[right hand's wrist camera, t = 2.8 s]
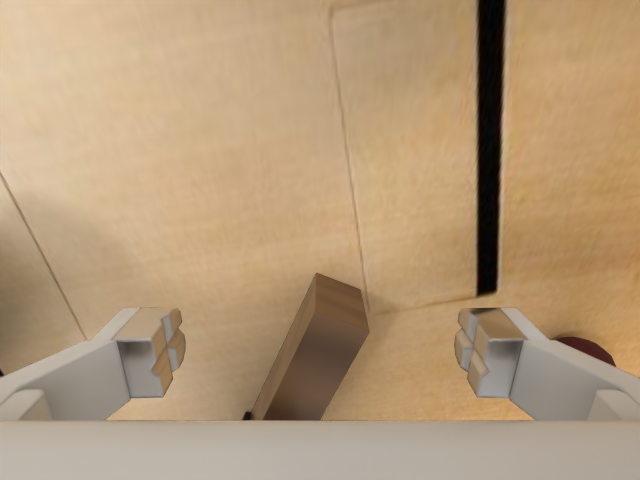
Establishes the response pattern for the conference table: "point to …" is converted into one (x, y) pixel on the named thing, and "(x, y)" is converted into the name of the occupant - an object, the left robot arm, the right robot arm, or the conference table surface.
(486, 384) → the right robot arm
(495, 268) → the conference table surface
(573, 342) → the plum
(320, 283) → the bar
